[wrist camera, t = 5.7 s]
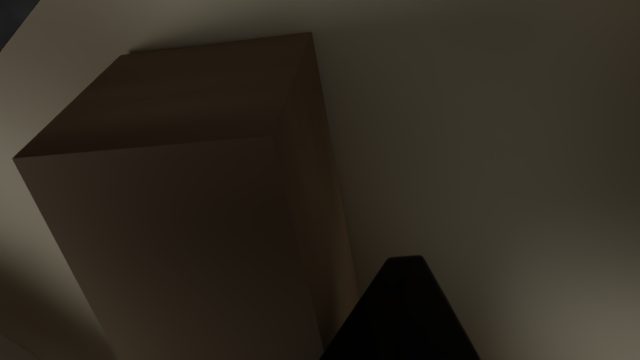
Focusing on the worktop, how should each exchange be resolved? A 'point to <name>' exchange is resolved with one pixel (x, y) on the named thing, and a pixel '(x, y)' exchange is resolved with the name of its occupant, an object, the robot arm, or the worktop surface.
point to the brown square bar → (201, 202)
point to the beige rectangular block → (391, 156)
